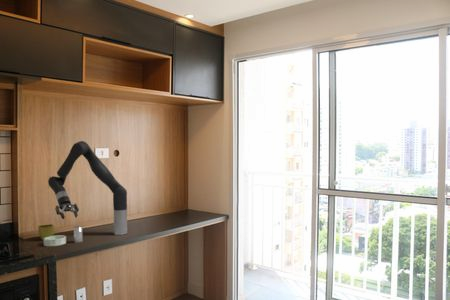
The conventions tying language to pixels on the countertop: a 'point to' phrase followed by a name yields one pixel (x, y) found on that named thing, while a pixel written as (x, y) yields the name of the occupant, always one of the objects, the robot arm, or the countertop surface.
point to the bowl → (55, 240)
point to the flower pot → (46, 231)
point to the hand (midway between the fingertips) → (70, 217)
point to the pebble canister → (77, 234)
